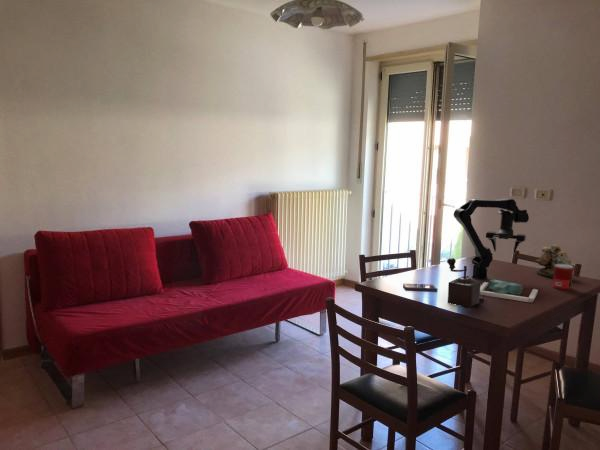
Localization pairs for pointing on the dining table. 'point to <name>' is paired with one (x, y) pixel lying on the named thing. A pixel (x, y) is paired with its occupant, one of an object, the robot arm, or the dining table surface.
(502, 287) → the T block
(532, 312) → the dining table surface
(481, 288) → the outline
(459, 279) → the manual coffee grinder
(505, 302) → the dining table surface
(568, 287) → the red tapered cylinder
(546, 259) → the khaki lumpy piece
